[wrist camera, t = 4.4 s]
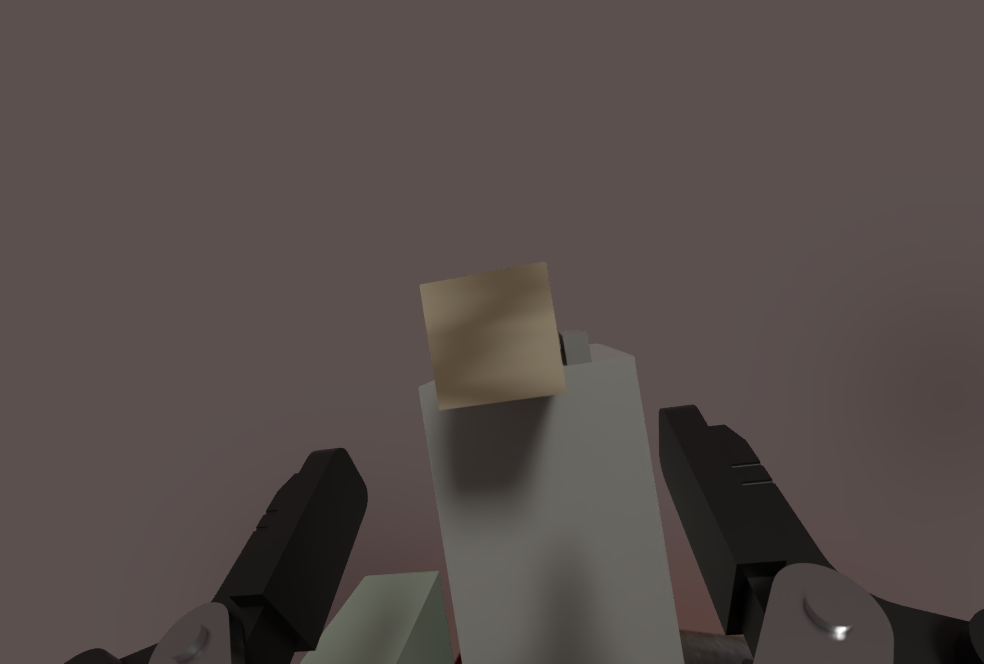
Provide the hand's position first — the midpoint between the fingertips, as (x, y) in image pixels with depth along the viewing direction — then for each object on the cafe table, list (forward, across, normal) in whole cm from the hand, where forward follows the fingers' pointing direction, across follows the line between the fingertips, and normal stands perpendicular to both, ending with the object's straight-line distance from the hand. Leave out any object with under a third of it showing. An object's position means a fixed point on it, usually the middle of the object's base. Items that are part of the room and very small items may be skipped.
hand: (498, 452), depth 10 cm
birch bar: (+12, 0, +6) cm, 14 cm away
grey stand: (0, 0, +36) cm, 36 cm away
